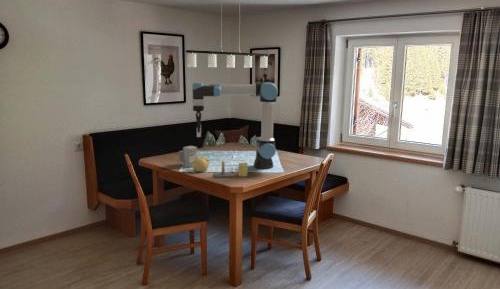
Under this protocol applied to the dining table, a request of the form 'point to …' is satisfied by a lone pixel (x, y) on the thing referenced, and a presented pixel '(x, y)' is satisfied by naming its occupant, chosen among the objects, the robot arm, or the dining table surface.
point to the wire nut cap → (242, 169)
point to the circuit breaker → (188, 156)
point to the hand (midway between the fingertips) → (199, 135)
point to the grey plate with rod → (223, 173)
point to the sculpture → (200, 164)
